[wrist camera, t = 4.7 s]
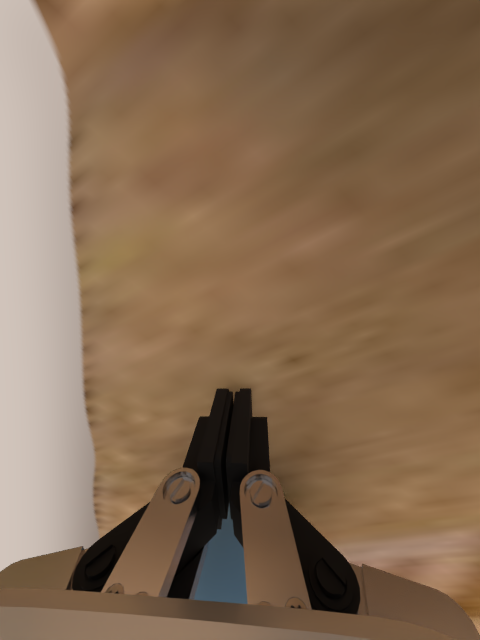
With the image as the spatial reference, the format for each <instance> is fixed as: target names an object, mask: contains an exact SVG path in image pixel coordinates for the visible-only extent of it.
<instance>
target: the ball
mask: <svg viewBox="0 0 480 640" xmlns="http://www.w3.org/2000/svg"><path fill="white" fill-rule="evenodd" d="M194 600H203V601H215V602H228V603H240V604H248V603H247V589H246V575H245V561H244V548H243V547H242V546H241V544H240V543H239V541H238V540H237V538H236V537H235V536H234V530H233V520H232V519H231V515H230V505H229V508H228V517H227V519H222V526H221V529H217V533H216V535H215V536H214V537H213V538H212V539H211V540H210V541H209V545H208V551H207V554H206V558H205V561H204V565H203V568H202V572H201V576H200V579H199V583H198V586H197V590H196V594H195V597H194Z"/></svg>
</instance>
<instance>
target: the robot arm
mask: <svg viewBox="0 0 480 640" xmlns="http://www.w3.org/2000/svg"><path fill="white" fill-rule="evenodd" d="M229 505H230V515H231V519H232V520H233V530H234V536H235V537H236V538H237V540H238V541H239V543H240V544H241V546H242V547H243V548H244V561H245V575H246V589H247V603H248V604H240V603H228V602H215V601H203V600H194V597H195V594H196V590H197V586H198V583H199V579H200V576H201V572H202V568H203V565H204V561H205V558H206V554H207V551H208V545H209V541H210V540H211V539H212V538H213V537H214V536H215V535H216V533H217V529H221V526H222V519H227V517H228V508H229ZM0 640H480V635H479V633H478V631H477V629H476V627H475V625H474V624H473V622H472V620H471V619H470V618H469V616H468V615H467V614H466V613H465V611H464V610H463V609H462V608H461V606H460V605H458V604H457V603H456V602H455V601H454V600H453V599H452V598H450V597H449V596H448V595H446V594H444V593H442V592H440V591H438V590H437V589H434V588H431V587H428V586H425V585H422V584H419V583H416V582H413V581H411V580H408V579H405V578H402V577H399V576H396V575H393V574H390V573H387V572H385V571H382V570H379V569H376V568H373V567H370V566H367V565H364V564H362V567H359V566H356V565H354V564H351V563H349V562H348V561H347V560H346V559H345V558H344V556H343V555H342V554H341V553H340V552H339V551H338V550H337V549H336V548H335V547H334V546H333V545H332V544H331V543H330V542H329V541H327V540H326V539H325V538H324V537H323V536H322V535H321V534H320V533H319V532H318V531H317V530H316V529H315V528H314V527H313V526H312V525H311V524H310V523H309V522H308V521H307V520H306V519H305V518H304V517H303V516H302V515H301V514H300V513H299V512H298V511H297V510H296V509H295V508H294V507H293V506H292V505H291V504H290V503H289V502H288V501H287V500H286V499H285V498H284V494H283V490H282V487H281V484H280V482H279V480H278V479H277V478H276V477H275V476H274V475H273V474H272V473H270V463H269V444H268V425H267V417H252V400H251V389H240V391H239V392H235V399H234V402H233V392H229V389H217V391H216V394H215V398H214V401H213V405H212V409H211V412H210V416H209V417H202V416H200V418H199V420H198V422H197V426H196V429H195V432H194V435H193V438H192V441H191V444H190V447H189V450H188V453H187V456H186V459H185V462H184V465H183V468H179V469H176V470H174V471H172V472H170V473H169V474H168V475H167V476H166V477H165V478H164V479H163V481H162V482H161V483H160V485H159V487H158V489H157V491H156V493H155V494H154V496H153V498H152V500H151V502H149V503H148V504H147V505H145V506H144V507H142V508H141V509H140V510H138V511H137V512H136V513H134V514H133V515H132V516H130V517H129V518H128V519H126V520H125V521H124V522H122V523H121V524H119V525H118V526H117V527H115V528H114V529H113V530H111V531H110V532H109V533H107V534H106V535H105V536H103V537H102V538H100V539H99V540H98V541H97V542H95V543H94V544H93V545H92V546H91V547H90V548H88V549H84V548H83V546H81V547H77V548H72V549H68V550H63V551H59V552H55V553H50V554H46V555H41V556H37V557H33V558H28V559H24V560H20V561H18V562H15V563H13V564H11V565H9V566H8V567H6V568H5V569H4V570H2V571H1V572H0Z"/></svg>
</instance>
